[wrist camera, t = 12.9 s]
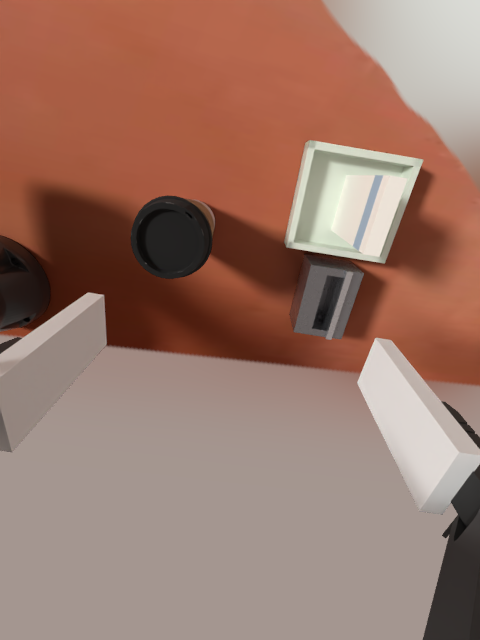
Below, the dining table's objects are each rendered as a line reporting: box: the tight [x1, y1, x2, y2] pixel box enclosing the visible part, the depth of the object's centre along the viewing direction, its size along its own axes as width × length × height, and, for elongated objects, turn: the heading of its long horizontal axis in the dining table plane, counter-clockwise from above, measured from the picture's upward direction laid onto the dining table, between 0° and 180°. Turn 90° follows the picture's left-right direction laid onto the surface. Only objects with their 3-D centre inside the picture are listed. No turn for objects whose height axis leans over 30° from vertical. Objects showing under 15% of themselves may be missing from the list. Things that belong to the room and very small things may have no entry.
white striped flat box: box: [331, 175, 408, 257], centre depth 34 cm, size 2×7×14 cm, turn 171°
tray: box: [284, 140, 423, 263], centre depth 39 cm, size 14×13×4 cm
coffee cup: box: [131, 196, 215, 279], centre depth 36 cm, size 8×8×15 cm
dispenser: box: [289, 254, 364, 340], centre depth 43 cm, size 7×10×7 cm
